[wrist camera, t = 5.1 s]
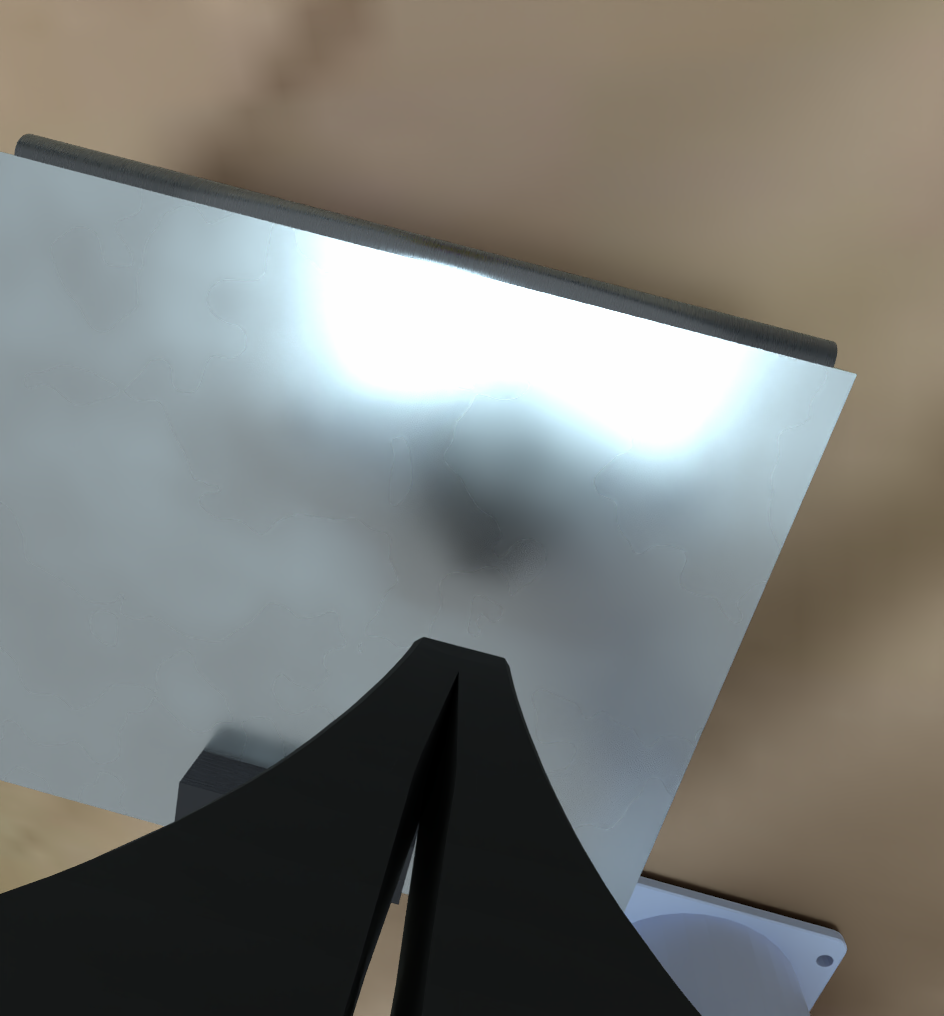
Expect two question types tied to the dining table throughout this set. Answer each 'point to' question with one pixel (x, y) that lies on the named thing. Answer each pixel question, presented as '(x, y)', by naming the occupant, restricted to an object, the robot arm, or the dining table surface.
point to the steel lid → (364, 491)
